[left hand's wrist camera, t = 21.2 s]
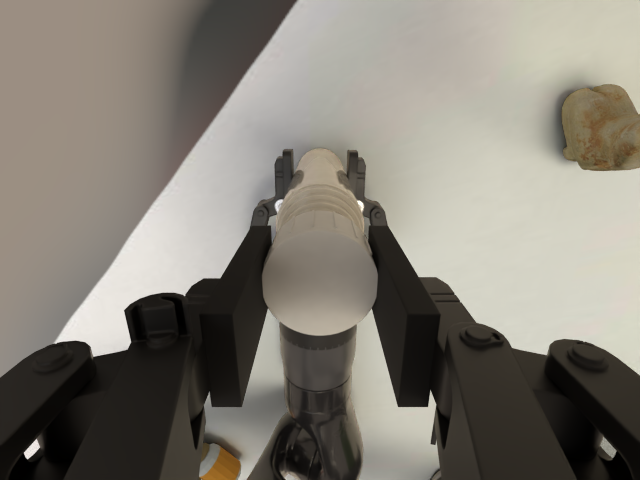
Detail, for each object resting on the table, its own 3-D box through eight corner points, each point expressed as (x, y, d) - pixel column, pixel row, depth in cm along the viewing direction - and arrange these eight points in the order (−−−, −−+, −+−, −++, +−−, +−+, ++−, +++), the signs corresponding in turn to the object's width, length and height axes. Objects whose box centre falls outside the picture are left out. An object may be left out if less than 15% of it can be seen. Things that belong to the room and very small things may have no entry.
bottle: (332, 200, 36) (352, 346, 14) (290, 183, 36) (239, 308, 13) (349, 158, 35) (406, 244, 12) (307, 140, 34) (281, 196, 11)
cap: (249, 252, 14) (235, 280, 12) (325, 188, 13) (326, 204, 11) (315, 318, 15) (314, 355, 13) (389, 262, 14) (403, 291, 12)
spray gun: (216, 511, 54) (125, 476, 52) (261, 450, 48) (160, 407, 46) (207, 544, 50) (108, 507, 48) (254, 481, 44) (143, 436, 42)
